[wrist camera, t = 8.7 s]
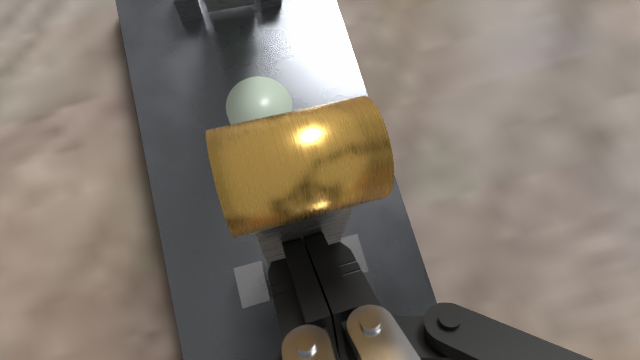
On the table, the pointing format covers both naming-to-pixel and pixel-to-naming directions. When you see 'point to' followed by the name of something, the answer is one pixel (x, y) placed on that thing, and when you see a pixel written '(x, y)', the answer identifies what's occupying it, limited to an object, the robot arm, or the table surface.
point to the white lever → (226, 4)
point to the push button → (257, 99)
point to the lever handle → (300, 171)
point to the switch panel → (196, 174)
